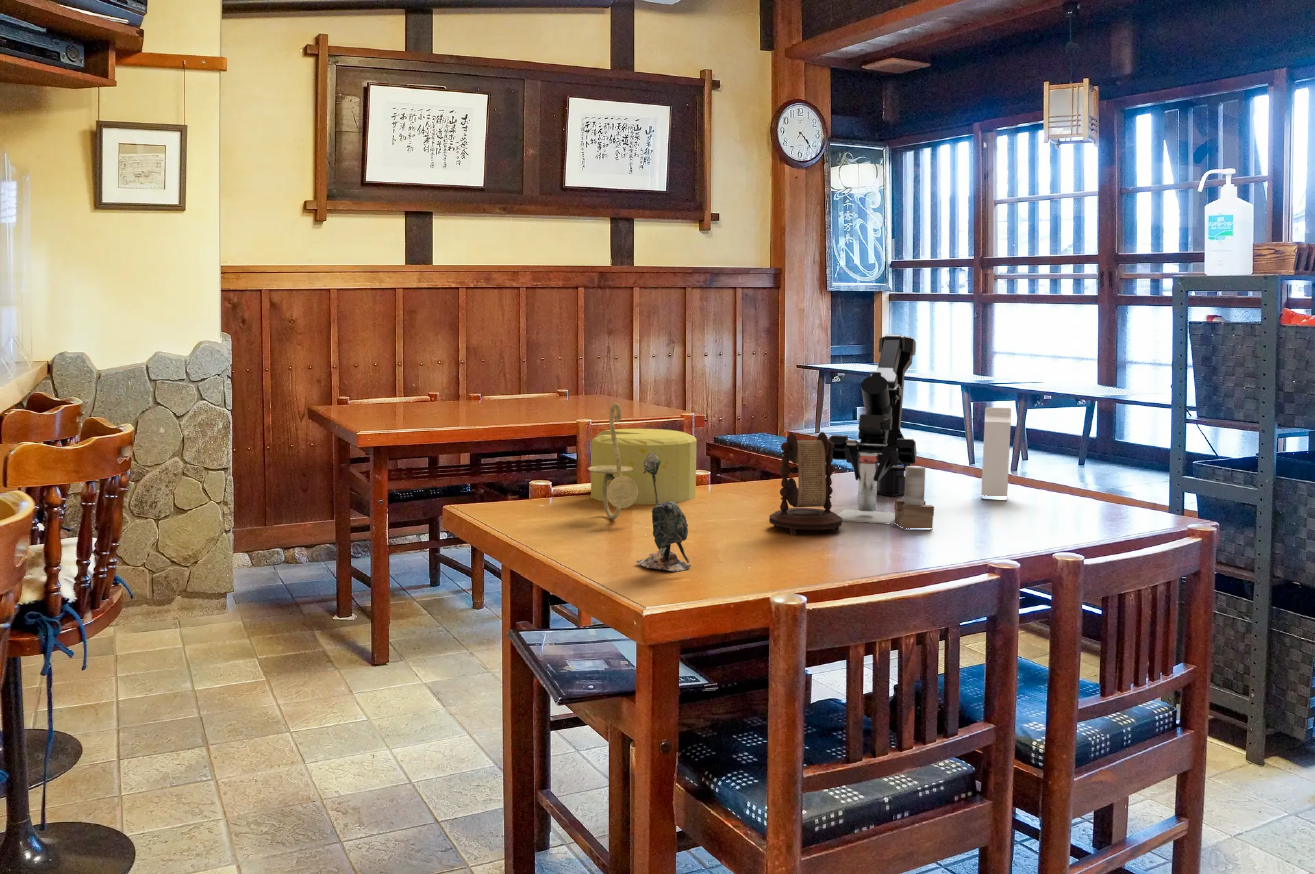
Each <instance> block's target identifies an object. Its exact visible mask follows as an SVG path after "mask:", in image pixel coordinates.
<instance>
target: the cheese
mask: <svg viewBox="0 0 1315 874" xmlns="http://www.w3.org/2000/svg"><path fill="white" fill-rule="evenodd" d="M615 434H616V439H617V444H618V450H619V456H620V463H621V466H627V467H631V468H633V469H632V471H630V472H627V473H621V474H622V476H626V477H629V478H631V479H633V480H634V481H635V483H636V485H637V487H638V496H637V499H636V501H635V502H634V503H633V504H632V505H656V498H655V488H654V484H653V479H652V474H650V473H648V472H646V473H645V474H643V472H644V470H645V467H644V465H643V464H644V463H643V462H644V461H645V460H646V457H647V456H648V454H649V453H653V454H655V455H656V456H657V457H658V458H659V460H660V462H661V463H660V464H659V468H658V471H657V474H656V475H655V478H656V483H655V486H656V491H657V501H658V503H662V502H669V501H674V502H675V503H682V502H687V501H691V500H692V499H695V498H696V488H697V487H696V486H697V485H696V484H697V483H696V482H697V437H695V436H694V435H691V434H689V433H687V432H684V431H680V430H672V429H662V428H661V429H657V428H620V429H619V428H617V429H615ZM590 443H591V444H590V467H592V466H602V465H616V460H615V453H614V448H613V442H612V437H611V431H610V429H606V430H603V431H601V432H598V434H597V435H596V436H595V437H593V438H592V439H591V441H590ZM604 476H605V474H602V473H595V472H591V471H590V499H592V498H593V499H592V500H596V501H599V502H603V480H604ZM613 476H614V478H617V474H613ZM610 482H611V480H610ZM608 483H609V480H608V482H607V488H608ZM607 501H608V503H610V502H609V500H608V498H607Z"/></svg>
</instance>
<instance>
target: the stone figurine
mask: <svg viewBox="0 0 1315 874" xmlns="http://www.w3.org/2000/svg"><path fill="white" fill-rule="evenodd" d="M643 463H644V464H643V465H644V467H645V470H644V472H643V474H645V473H646V472H648V473H650V474H652V479H653V484H654V488H655V498H656V504H655V505H654V507H652V509H651V510H652V511H651V514H652V515H651V521H652V522H651V523H652V536H653V537H654V544H655V545H656V547H657V549H658V551H652V552H650V553H649V555H648V557H647V558H643V559H640V560H636V563H637V564H639V565H640V566H643V567H645V568H646V569H654V570H655V569H656V570H659V571H661V570H664V571H670V572H674V573H676V572H679V571H681V572H682V571H686V570H688V569H690V567H692V565H691V564H689V563H690V562H691V561H690V559H689V558H688V556H687V555H686V553H685V549H684V546H683V544H682V542H685V541H686V540H687V539H688V534H689V530H688V529H689V528H688V526H689V524H688V523H687V517H686V515H685V513H684V511H683V510H682V508H681V507H680V506H679V504H677V503H678V502H677V503H675V502H674V501H669V502H662V503H658V501H657V491H656V486H655V483H656V478H655V475H656V474H657V471H658V468H659V464H660V463H661V462H660V460H659V458H658V457H657V456H656V455H655V454H653V453H649V454H648V456H647V457H646V460H645V461H644V462H643ZM672 544H676V545H677V546H678V548H679V550H680V553H681V555H682V556H683V558H684V560H685V561H686V562H684V561H683V560H680V559H679V558H678V556H677V554H676V553H675V552H673V551H672V550H671V546H672Z"/></svg>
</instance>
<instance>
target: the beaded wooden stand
mask: <svg viewBox="0 0 1315 874" xmlns="http://www.w3.org/2000/svg"><path fill="white" fill-rule="evenodd" d="M780 448H781V449H780V450H782V452H781V454H782V455H783V456H782V458H781V464H782V465H780V467H779V473H780V474H781V477H782V480H781V482H780V485H781V489H780V490H779V495H780V496H782V497H780V500H781V503H780V505H779V508H780V509H779V510H777V511H774V512H773V513H771V514H769V518H768V519H769V520H768V521H769V524H771V525H772V526H774V527H780V528H785V529H789V532H790V534H791V536H795V534H796V531H797V530H807V531H809V530H811V531H812V530H813V531H814V530H817V531H818V530H830V529H833V531H834V533H835V534H838V533H839V530H840V527H841V526H842V525H843V521H842V518H841V517H840V516H838V514H837V513H835V512H833V511H831V509H832V501H831V498H832V496H831V495H832V494H833V492H834V491H833V490H834V489H833V487H832V486H831V485H832V484H833V482H832V477H831V476H833V473H834V471H835V466H834V464H832V462H833V461H834V459H832V455H831V453H833V452H832V451H831V450H832V449H833V448H834V444H833V442H831V441H829V437H828V436H827V434H826V433H825V432H819V433H818V435H817V438H816V439H812V440H807V439H805V440H803V439H802V440H798V438H797V435H796V434H795V433H794V432H790V433H789V434H788V435H787V437H786V441H784V442H783V443H781V444H780ZM790 461H791V462H792V464H793V465H795V464H796V465H797V466H792V467H791V466H790V465H789V464H790ZM791 473H792V474H797V476H798V477H797V478H798V483H796V480H795V479H794V477H789V476H790V474H791ZM797 484H798V486H797ZM789 505H790V506H792V507H791V508H789ZM816 507H817V508H816ZM818 507H819V508H818ZM821 507H823V509H822V508H821Z"/></svg>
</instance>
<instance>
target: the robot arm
mask: <svg viewBox="0 0 1315 874" xmlns="http://www.w3.org/2000/svg"><path fill="white" fill-rule="evenodd" d="M878 340H879V341H878V354H879V355H880V356H879V361H878V365H877V369H876V371H872V373H871V374H870V375H869V376H866V377H865V378H864V379H863V380H862V381H861V384H860V387H861V395H862V401H863V406H864V408H865V413H864V414H859V417H858V418H859V419H858V440H859V441H860V442H859V441H857V440H855V439H849V437H848V435H837V434H836V435H833V434H832V435H831V436H829V437H828V441H831V442H833V444H834V448H833V449H832V450H831V451H832V452H833V453H831V455H832V459H833V460H837V461H838V460H839V461H846V463H848V464H851V467H852V470H853V472H854V477H855V481H858V476H859V452H864V451H869V452H877V453H878V471H877V476H876V481H877V495H880V496H881V495H882V496H886V497H887V496H888V497H898V496H902V495H903V494H904V495H905V469H906V466H912V465H914V464H915V463H916V462H917V446H916V445H917V444H916V440H914V438H905V436H904V435H903V433H902V431H901V425H902V413H903V399H904V387H905V386H904V385H905V375H906V372H907V371H908V369H909V368H910V367H911V366H912V363H913V359H914V358H913V356H916V347H917V346H916V345H917V343H916V340H915V339H914V338H912V337H911V336H905V335H902V334H889V333H888V334H885V335H882V337H879V339H878ZM904 495H903V496H904Z"/></svg>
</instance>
